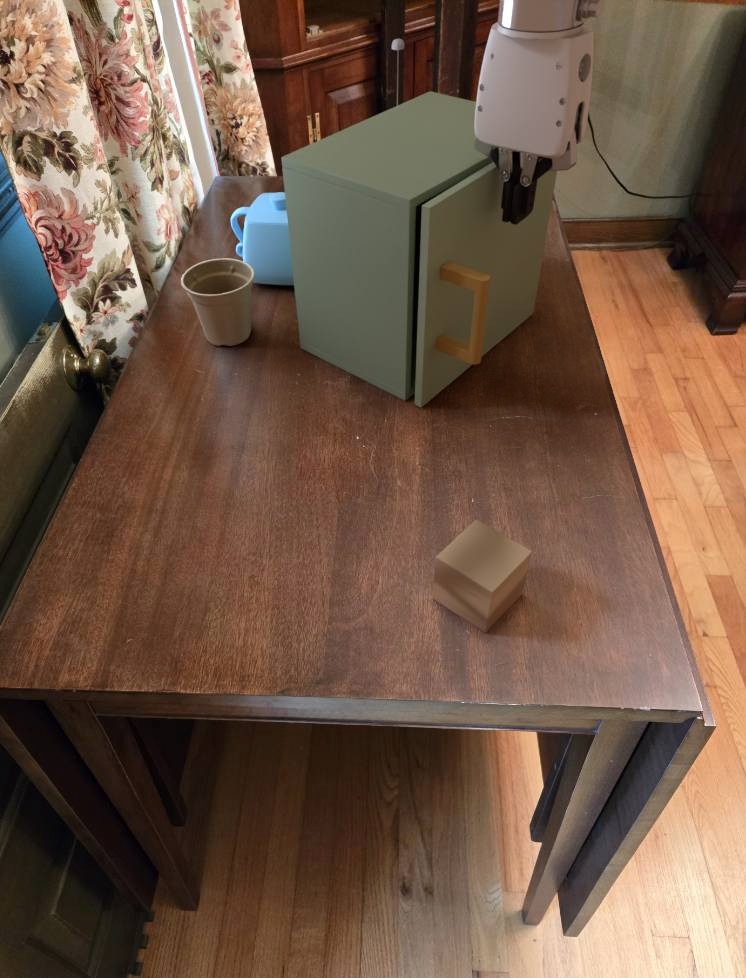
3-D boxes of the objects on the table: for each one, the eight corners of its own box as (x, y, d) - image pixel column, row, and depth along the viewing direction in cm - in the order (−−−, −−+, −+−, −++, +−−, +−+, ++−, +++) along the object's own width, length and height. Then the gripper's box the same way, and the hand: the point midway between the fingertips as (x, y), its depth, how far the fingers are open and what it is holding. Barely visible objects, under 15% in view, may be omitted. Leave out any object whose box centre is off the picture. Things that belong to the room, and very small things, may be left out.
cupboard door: (569, 326, 97) (610, 133, 79) (459, 425, 84) (479, 222, 66) (527, 311, 100) (557, 122, 82) (414, 404, 87) (421, 205, 69)
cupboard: (525, 311, 100) (555, 120, 82) (405, 401, 88) (410, 199, 70) (422, 271, 109) (430, 90, 91) (300, 348, 96) (281, 157, 79)
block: (522, 593, 68) (532, 551, 63) (485, 633, 65) (492, 592, 60) (470, 561, 70) (476, 518, 66) (432, 598, 68) (435, 556, 63)
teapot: (347, 296, 105) (343, 217, 96) (227, 290, 108) (214, 212, 99) (360, 255, 113) (358, 178, 104) (249, 250, 116) (238, 175, 107)
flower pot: (239, 361, 95) (228, 301, 89) (180, 345, 98) (166, 286, 92) (275, 324, 101) (267, 265, 94) (218, 311, 104) (207, 253, 97)
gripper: (642, 7, 62) (597, 221, 75) (489, -9, 69) (473, 190, 82) (605, 29, 58) (564, 250, 72) (446, 9, 65) (436, 215, 78)
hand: (515, 218), depth 77 cm, fingers closed
